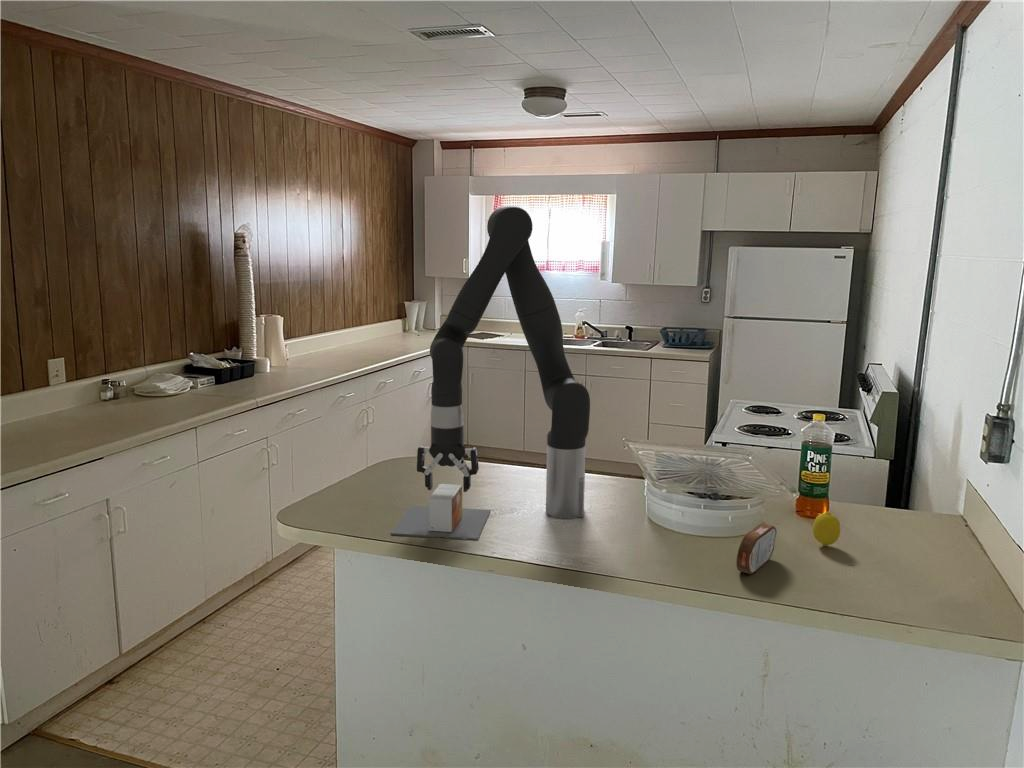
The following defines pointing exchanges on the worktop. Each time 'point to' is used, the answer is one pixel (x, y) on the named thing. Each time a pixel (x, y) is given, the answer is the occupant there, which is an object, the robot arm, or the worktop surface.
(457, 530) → the mat
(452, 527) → the small box
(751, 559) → the tin
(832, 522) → the lemon
